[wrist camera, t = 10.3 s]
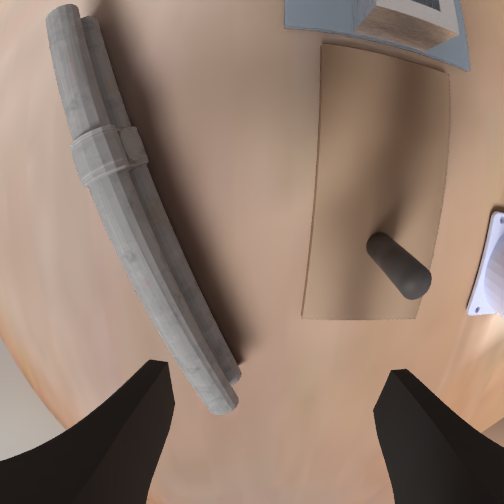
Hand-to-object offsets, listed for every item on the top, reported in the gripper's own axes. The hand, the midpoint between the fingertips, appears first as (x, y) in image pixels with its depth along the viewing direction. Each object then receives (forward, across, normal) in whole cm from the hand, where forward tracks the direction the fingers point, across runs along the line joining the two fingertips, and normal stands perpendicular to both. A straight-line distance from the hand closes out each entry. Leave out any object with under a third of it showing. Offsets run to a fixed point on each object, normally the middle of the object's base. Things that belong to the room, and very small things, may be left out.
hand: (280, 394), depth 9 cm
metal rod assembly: (+10, +8, -4) cm, 13 cm away
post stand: (+9, -6, -5) cm, 12 cm away
